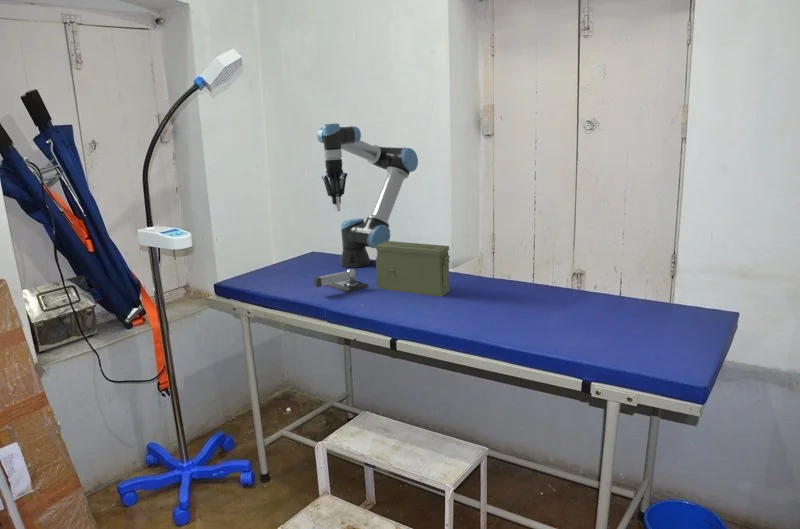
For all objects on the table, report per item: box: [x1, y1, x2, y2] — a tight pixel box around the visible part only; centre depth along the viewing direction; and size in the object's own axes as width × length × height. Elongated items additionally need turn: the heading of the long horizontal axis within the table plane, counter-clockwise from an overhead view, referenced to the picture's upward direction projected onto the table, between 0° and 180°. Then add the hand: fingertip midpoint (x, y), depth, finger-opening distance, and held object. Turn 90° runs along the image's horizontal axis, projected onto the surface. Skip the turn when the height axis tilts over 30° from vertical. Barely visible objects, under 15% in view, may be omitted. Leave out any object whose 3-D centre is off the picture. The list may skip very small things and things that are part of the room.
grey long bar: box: [313, 268, 357, 288], centre depth 263 cm, size 19×3×6 cm, turn 123°
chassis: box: [324, 280, 368, 294], centre depth 274 cm, size 12×22×2 cm, turn 41°
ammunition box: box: [375, 240, 451, 298], centre depth 260 cm, size 10×33×20 cm, turn 61°
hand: (337, 210), depth 276 cm, fingers closed
